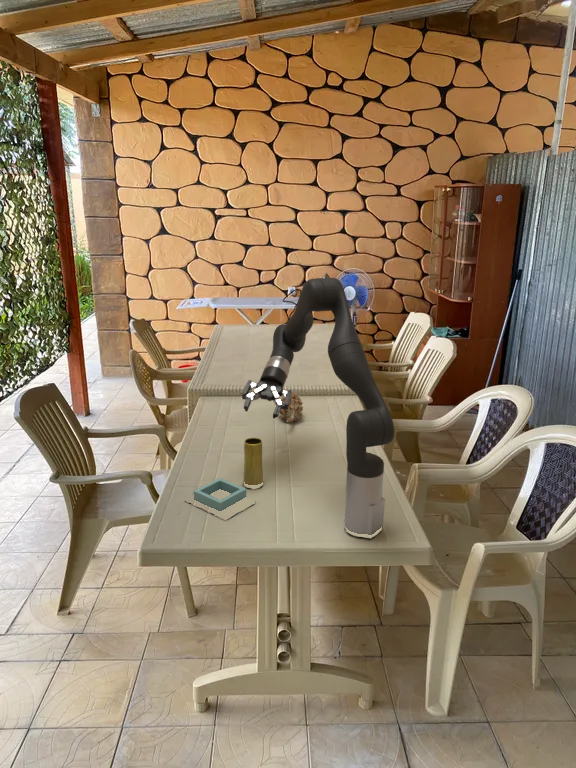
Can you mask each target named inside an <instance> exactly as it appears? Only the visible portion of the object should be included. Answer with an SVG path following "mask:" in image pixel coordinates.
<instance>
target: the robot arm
mask: <svg viewBox="0 0 576 768" xmlns="http://www.w3.org/2000/svg"><path fill="white" fill-rule="evenodd" d="M301 288H302V289H301V291H300V293H299V297H298V299H297V302H296V306H295V309H294V311H293V314H292V315H291V317H289V319H288V321H287V322H286V324H285V323H282V324H279V325H277V327H276V328H275V330H274V332H273V336H272V351H271V353H270V356H269V358H268V361H267V362H266V363H265V366H264V368H263V372H262V373H261V376H260V379H259V381H258V382H257V383H255V382H253V381H252V380H251V379H248V380H247V382H246V384H245V386H244V388H243V389H242V392H241V398H242V400H245V401H244V403H243V410H244V412H248V411H249V409H250V406H251V404H252V402H253V401H257V400H259V399H261V400H266V401H268V402H271V401H273V404H274V406H275V408H274V410H273V414H272V419H276V418H278V417H279V415H280V410H281V409H285V410H287V409H288V406H289V403H290V399H291V393H292V392H293V391H292V390H291V389H288V390H283V389H284V387H285V383H286V381H287V379H288V376H289V374H290V370H291V369H290V368H291V366H292V363H293V361H294V356H295V355H294V353H299V352H300V351H302V349H303V348H304V346H305V343H306V338H307V334H308V333H309V331H310V330H311V329H312V327H313V325H314V321H315V320H314V316H313V313H312V312H331V313H332V314H333V317H334V328H333V331H332V334H331V336H330V338H329V341H328V345H327V346H328V347H327V355H328V358H329V361H330V364H331V367H332V369H333V372H334V375H336V377H337V378H338V379H339V380H340V381H341V382H342V383H343V384H344V385H345V386H346V387H347V388H349V390H351V391H352V392H353V393H355V394H356V396H358V398H359V399H360V401H361V402H362V403H363V405H364V407H365V409H364V410H363V409H361V410H355V411H352V412H350V413H349V414H348V416H347V420H346V426H345V427H346V432H345V433H346V452H345V454H346V455H345V456H346V461H347V463H346V466H347V467H346V485H345V501H344V519H343V522H344V523H343V524H344V525H345V527H346V528H347V529H348V530H349V531H351V532H354V533H357V534H368V535H372V534H374V533H375V532H376V531H377V530H379V529H380V528H381V527H382V526H383V525H384V514H385V501H386V499H385V497H382V496H383V486H384V485H383V484H384V474H385V473H384V470H385V462H384V460H383V459H382V457H380V456H379V455H377V454H374V453H372V452H368V451H367V448H371V447H378V446H385V445H388V444H390V443H392V442H393V440H394V438H395V425H394V421H393V418H392V415H391V413H390V411H389V409H388V407H387V404H386V402H385V400H384V398H383V396H382V395H381V392H380V390H379V388H378V386H377V383H376V381H375V378H374V376H373V373H372V370H371V368H370V365H369V362H368V359H367V356H366V353H365V350H364V348H363V345H362V343H361V340H360V337H359V336H358V335H359V334H358V333H357V329H356V327H355V325H354V321H353V319H352V314H351V311H350V307H349V303H348V299H347V295H346V292H345V289H344V286H343V284H342V282H341V280H340V279H338V278H336V277H320V278H319V277H318V278H317V277H316V278H310V279H308V280H306V282H304V284H303V286H302V287H301ZM252 390H253V391H252ZM250 391H252V392H250ZM281 397H283V398H285V402H284V403H282V402H281V400H280V399H281ZM344 525H343V526H344ZM383 527H384V526H383Z"/></svg>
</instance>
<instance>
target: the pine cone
mask: <svg viewBox="0 0 576 768" xmlns="http://www.w3.org/2000/svg"><path fill="white" fill-rule="evenodd" d="M280 400H281V402H282V403H284V402H285V398H284V396H280ZM303 404H304V402H303V400H302V399H301V396H300V395H297V393H296V392H294V391H292V393H291V399H290V403H289V406H288V409H287V410H285V409H281V410H280V413H279V415H281V417H282V419H283V420H286V423H290V422H291V423H292V422H293V421H294V422H297V421H299V418H300V417H301V416H303V411H304V406H302V405H303Z"/></svg>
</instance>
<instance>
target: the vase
mask: <svg viewBox="0 0 576 768" xmlns="http://www.w3.org/2000/svg"><path fill="white" fill-rule="evenodd" d="M243 443H244V444H243V453H244V457H243V460H244V461H243V462H244V463H243V482H245V484H248V485H258V484H261V483H262V482H263V483H264V470H263V469H264V467H263V466H264V465H263V440H262V439H261V438H260V437H248V438H245V440H244V441H243Z"/></svg>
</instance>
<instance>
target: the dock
mask: <svg viewBox="0 0 576 768" xmlns="http://www.w3.org/2000/svg"><path fill="white" fill-rule="evenodd" d="M219 489H221V490H224V491H227V492H229V493H231V494H230V495H229V496H227V497H225V498H223V499H221V500H219V499H217V498H215V497H213V496H210V494H211V493H213V492H215V491H217V490H219ZM193 494H194V500H196V501H198V502H200V503H202V504H204V505H207V506H209V507H211V508H214V509H216V510H218V511H222V510H224V509H226V508H227V507H229V506H231V505H233V504H235V503H236V502H238V501H240V500H242V499H243V498H245V497H247V488H245V487H244V486H241V485H239V484H237V483H233V482H230V481H229V480H226V479H223V478H221V477H218V478H217V479H214V480H213V481H211V482H209V483H206V484H205V485H202V486H200V487H199V488H197V489H195V490H193Z"/></svg>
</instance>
